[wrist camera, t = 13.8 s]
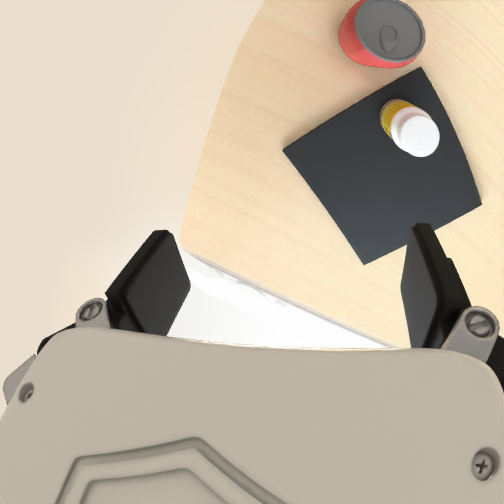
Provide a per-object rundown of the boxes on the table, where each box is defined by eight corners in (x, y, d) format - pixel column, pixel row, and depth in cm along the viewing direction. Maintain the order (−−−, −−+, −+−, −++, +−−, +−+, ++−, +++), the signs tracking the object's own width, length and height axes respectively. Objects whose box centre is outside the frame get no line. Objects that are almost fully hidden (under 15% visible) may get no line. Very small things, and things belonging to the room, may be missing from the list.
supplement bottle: (372, 124, 30) (386, 143, 23) (390, 91, 27) (411, 100, 20) (405, 145, 30) (427, 170, 24) (424, 113, 27) (452, 130, 21)
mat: (282, 149, 35) (282, 150, 34) (419, 67, 25) (421, 67, 24) (363, 262, 42) (363, 265, 41) (480, 202, 32) (482, 204, 31)
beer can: (333, 57, 27) (341, 54, 18) (342, 7, 23) (353, -20, 13) (390, 73, 26) (424, 81, 17) (399, 23, 22) (436, 8, 13)
